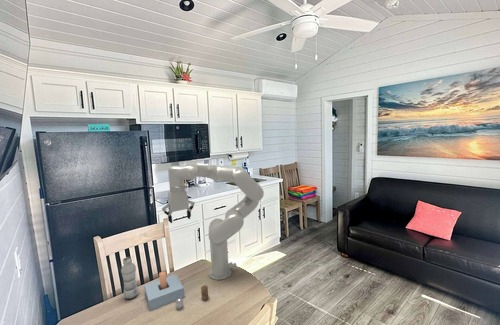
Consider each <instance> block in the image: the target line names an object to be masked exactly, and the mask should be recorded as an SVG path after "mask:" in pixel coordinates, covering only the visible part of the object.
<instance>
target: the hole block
mask: <svg viewBox="0 0 500 325" xmlns="http://www.w3.org/2000/svg"><path fill="white" fill-rule="evenodd" d="M166 279H167V288H165V289H162V290H161V289H160V279H158V280H155V281H151V282H147V283H145V284H144V285H143V286H144V295H145V299H146V302H147V306H148V308H149V311H153V310H155V309H158V308H160V307H163V306H165V305H168V304H170V303H174V302H176V300H175V299H176V298H177V297H182V298H186V297H185V287H184V285H183V284H182V282H181V281H180V279H179V276H178V275H177V274H176V273H175V274H172V275H170V276H166Z"/></svg>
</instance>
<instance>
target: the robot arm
mask: <svg viewBox="0 0 500 325" xmlns="http://www.w3.org/2000/svg"><path fill="white" fill-rule="evenodd" d="M167 171H168V184H169V192H168V195H167V202H168V203H167V204H166V205H165V206H163V207H162V208H161V210H162V212H163V213H164V214H165V215H167V220H168V222H169V223H170V224H173V216H172V214H173V213H174V212H179V211H183V210H186V217H187V219H188V220H190V219H191V217H192V213H191V212H192V210H193V209H194V206H195V205H196V203H195V201H192V200H189V198H188V193H187V190H186V189H188V185H186V184H185V181H192V180H195V179H196V178H207V179H210V180H213V181H215V182H217V183H218V182H219V183H220V182H221V183H234V184H235V185H236V186H237V188H239V189H240V191H241V192H242V193H243V194H244V197H243V199H241V201H239V202H238V203H237V204H235V205H234V206H233V207H231V208H229V210H227V211H226V212H225V215H224V219H221V218H214V219H212V221H211V222H210V223H209V226H208V240H209V248H210V250H209V251H210V261H211V262H210V264H211V269H210V270H209V272H208V275H209V277H210V279H212V280H215V281H216V280H217V281H222V280H225V279H227V278H229V277H230V276H231V275H232V272H233V271H232V268H235V267H237V263H236V262H234V263H233V262H232V261H231V262H229V253H228V249H229V248H228V240H229V239H231V237H233V236H234V235H235V234H237V233H238V232H240V231H241V229H242V228H243V227H244V221H245V220H244V219H245V218H247V217H248V216H249V215H250V214H251V213H252V212H253V211H255V210H256V208H257V207H258V205H259V203H260V201H261V200H262V199H263V198H264V196H265V193H264V189H263V187H262V186H261V185H260V184H259V183H258V182H256V180H255V179H254V178H253V177H252V176H251V175H250V174H249V172H248V170H246V169H245V168H244V167H241V166H231V165H230V166H228V165H227V166H226V165H217V164H209V163H207V164H206V163H198V162H197V163H196V162H195V163H194V162H191V163H188V164H187V165H186V166H182V165H172V166H169V167H168V170H167ZM167 209H168V211H167Z"/></svg>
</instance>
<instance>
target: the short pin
mask: <svg viewBox="0 0 500 325" xmlns="http://www.w3.org/2000/svg"><path fill="white" fill-rule="evenodd" d="M175 300H176V301H175V308H176V310H177V311H182V310H183V309H184V299H183V298H182V297H177V298H176V299H175Z"/></svg>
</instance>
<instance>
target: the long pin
mask: <svg viewBox="0 0 500 325" xmlns="http://www.w3.org/2000/svg"><path fill="white" fill-rule="evenodd" d="M158 277H159V278H158V280H160V289H161V290H162V289H165V288H167V279H166V277H167V271H165V270H164V271H163V270H161V272H160V271H159V273H158Z"/></svg>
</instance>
